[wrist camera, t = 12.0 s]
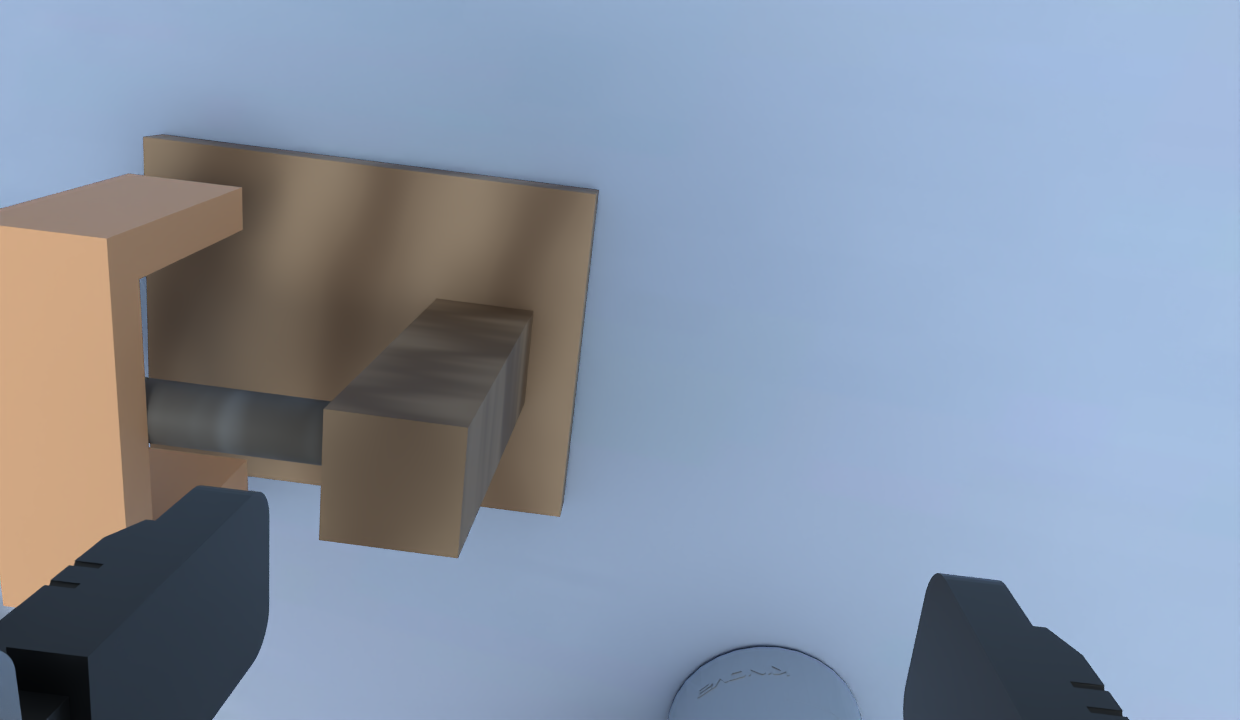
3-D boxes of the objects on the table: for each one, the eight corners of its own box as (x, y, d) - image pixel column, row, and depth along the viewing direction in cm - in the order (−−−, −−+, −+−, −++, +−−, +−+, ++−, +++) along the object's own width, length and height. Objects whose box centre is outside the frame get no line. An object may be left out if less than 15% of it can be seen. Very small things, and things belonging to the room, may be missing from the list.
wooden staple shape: (247, 494, 38) (132, 622, 30) (146, 481, 38) (3, 605, 30) (242, 187, 34) (106, 238, 26) (128, 173, 34) (-42, 220, 26)
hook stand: (598, 189, 39) (559, 257, 25) (563, 502, 43) (511, 715, 29) (27, 117, 39) (-339, 142, 25) (45, 434, 44) (-261, 612, 29)
